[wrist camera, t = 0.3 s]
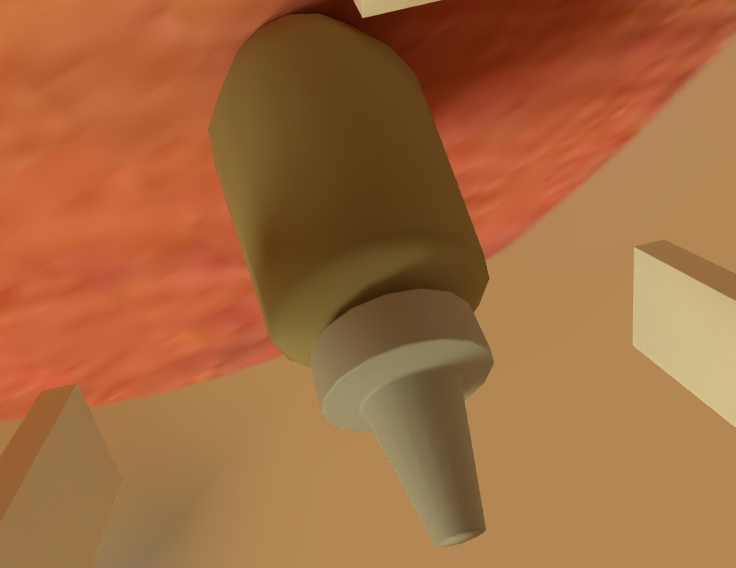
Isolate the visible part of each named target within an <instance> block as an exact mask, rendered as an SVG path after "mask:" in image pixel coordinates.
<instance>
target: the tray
mask: <svg viewBox="0 0 736 568" xmlns="http://www.w3.org/2000/svg"><path fill="white" fill-rule="evenodd" d="M353 1H354V3H355V5H356V6H357V8H358V10H359V12H360V14H361V16H362V18H365V17H370V16H374V15H378V14H383V13H387V12H391V11H396V10H400V9H405V8H409V7H413V6H418V5H422V4H426V3H431V2H435V1H440V0H353Z"/></svg>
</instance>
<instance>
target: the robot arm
mask: <svg viewBox="0 0 736 568" xmlns="http://www.w3.org/2000/svg"><path fill="white" fill-rule="evenodd" d="M633 298H634V299H633V346H634V347H636V348H637V349H638V350H639V351H641V352H642V353H643V354H644V355H646V356H647V357H648V358H649V359H651V360H652V361H653V362H654V363H656V364H657V365H658V366H659V367H661V368H662V369H663V370H664V371H666V372H667V373H668V374H669V375H671V376H672V377H673V378H675V379H676V380H677V381H678V382H679V383H681V384H682V385H683V386H684V387H686V388H687V389H688V390H690V391H691V392H692V393H693V394H694V395H696V396H697V397H698V398H699V399H701V400H702V401H703V402H704V403H706V404H707V405H708V406H709V407H711V408H712V409H713V410H714V411H716V412H717V413H718V414H719V415H721V416H722V417H723V418H725V419H726V420H727V421H728V422H729V423H731V424H732V425H733V426H734V427H736V274H735V273H733V272H731V271H729V270H726V269H725V268H722V267H720V266H718V265H716V264H714V263H712V262H710V261H708V260H706V259H704V258H701V257H699V256H697V255H695V254H693V253H691V252H689V251H687V250H685V249H683V248H680V247H678V246H676V245H674V244H672V243H670V242H668V241H666V240H661V241H657V242H652V243H648V244H645V245H640V246H636V247H634V297H633ZM121 480H122V477H121V475H120V473H119V471H118V469H117V466H116V464H115V462H114V461H113V458H112V456H111V454H110V452H109V450H108V447H107V445H106V443H105V441H104V439H103V437H102V435H101V433H100V431H99V429H98V427H97V424H96V422H95V420H94V418H93V416H92V414H91V412H90V410H89V407H88V405H87V403H86V401H85V399H84V397H83V395H82V393H81V391H80V388H79V386H78V384H77V383H76V384H72V385H67V386H63V387H59V388H55V389H51V390H47V391H43V392H41V393H40V395H39V396H38V398H37V399H36V401H35V403H34V404H33V406H32V407H31V409H30V410H29V412H28V413H27V415H26V417H25V418H24V420H23V421H22V423H21V424H20V426H19V427H18V429H17V431H16V432H15V434H14V435H13V437H12V438H11V440H10V442H9V443H8V445H7V446H6V448H5V449H4V451H3V453H2V454H1V456H0V568H93V566H94V563H95V560H96V557H97V554H98V551H99V548H100V545H101V542H102V538H103V535H104V532H105V529H106V526H107V523H108V520H109V517H110V514H111V510H112V508H113V505H114V502H115V498H116V495H117V492H118V489H119V486H120V483H121Z"/></svg>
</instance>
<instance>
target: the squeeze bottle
mask: <svg viewBox="0 0 736 568" xmlns="http://www.w3.org/2000/svg"><path fill="white" fill-rule="evenodd" d="M208 130H209V135H210V141H211V147H212V153H213V159H214V165H215V168H216V171H217V175H218V178H219V181H220V184H221V187H222V190H223V193H224V196H225V200H226V203H227V206H228V209H229V212H230V215H231V218H232V221H233V225H234V228H235V231H236V234H237V237H238V240H239V243H240V246H241V250H242V253H243V256H244V259H245V262H246V265H247V268H248V271H249V275H250V278H251V281H252V284H253V287H254V290H255V293H256V296H257V299H258V303H259V306H260V309H261V312H262V315H263V318H264V321H265V324H266V328H267V331H268V334H269V337H270V340H271V342H272V343H273V344H274V345H275V346H276V347H277V348H278V349H279V350H280V351H281V352H282V353H283V354H284V355H285V356H286V357H287V358H288V359H289V360H290V361H293V362H297V363H299V364H302V365H305V366H309V367H311V370H312V374H313V379H314V383H315V387H316V391H317V395H318V400H319V404H320V408H321V413H322V415H323V416H324V417H326V418H327V419H328V420H329V421H330V422H331V423H332V424H333V425H334V426H336V427H338V428H343V429H347V430H352V431H356V432H366V431H367V432H369V431H373V433H374V435H375V437H376V438H377V440H378V442H379V444H380V446H381V447H382V449H383V451H384V453H385V455H386V457H387V458H388V460H389V462H390V464H391V466H392V468H393V469H394V471H395V473H396V475H397V477H398V479H399V480H400V482H401V484H402V486H403V488H404V490H405V491H406V493H407V495H408V497H409V499H410V500H411V502H412V504H413V506H414V508H415V509H416V511H417V513H418V515H419V517H420V519H421V520H422V522H423V524H424V526H425V528H426V530H427V531H428V533H429V535H430V537H431V539H432V541H433V542H434V544H435V546H436V547H448V546H452V545H456V544H460V543H463V542H465V541H468V540H471V539H472V538H475V537H477V536H479V535H480V534H482V533H484V531H485V530H486V527H485V521H484V515H483V509H482V503H481V497H480V491H479V486H478V480H477V473H476V467H475V461H474V455H473V450H472V443H471V437H470V431H469V425H468V420H467V414H466V408H465V402H464V400H466V399H467V398H468V397H469V396H470V395H471V394H472V393H474V392H475V391H476V390H477V389H478V388H479V387H480V386H481V385H482V384H483V383H484V382H485V380H486V378H487V376H488V374H489V372H490V370H491V368H492V366H493V363H494V361H493V357H492V354H491V350H490V347H489V345H488V343H487V341H486V339H485V336H484V334H483V332H482V330H481V328H480V326H479V324H478V321H477V319H476V317H475V315H474V311H475V310H476V308H477V307H478V305H479V303H480V301H481V298H482V296H483V293H484V290H485V288H486V285H487V283H488V280H489V275H488V271H487V267H486V262H485V258H484V254H483V251H482V248H481V246H480V243H479V240H478V238H477V235H476V232H475V230H474V227H473V224H472V222H471V219H470V216H469V214H468V211H467V208H466V206H465V203H464V200H463V198H462V195H461V192H460V190H459V187H458V184H457V182H456V179H455V176H454V174H453V171H452V168H451V166H450V163H449V160H448V157H447V155H446V152H445V149H444V147H443V144H442V141H441V139H440V136H439V133H438V131H437V128H436V125H435V123H434V120H433V117H432V115H431V112H430V109H429V107H428V104H427V101H426V99H425V96H424V93H423V91H422V88H421V85H420V83H419V80H418V77H417V75H416V73H415V72H414V71H413V70H412V69H411V68H410V67H409V66H408V65H407V64H406V63H405V62H404V61H403V60H402V59H401V58H400V57H399V56H398V54H397V53H396V52H395V51H394V50H393V49H392V48H391V47H390V46H388V45H386V44H385V43H383V42H381V41H379V40H377V39H375V38H373V37H371V36H369V35H367V34H365V33H364V32H362V31H360V30H358V29H356V28H354V27H352V26H350V25H348V24H346V23H344V22H341V21H338V20H336V19H333V18H330V17H328V16H325V15H322V14H320V13H308V14H287V15H285V16H283V17H281V18H279V19H277V20H275V21H272V22H270V23H268V24H266V25H264V26H262V27H260V28H258V29H257V30H256V31H255V33H254V34H253V35H252V36H251V37H250V38H249V39H248V40H247V41H246V43H245V44H244V45H243V46H242V47H241V48H240V49H239V50H238V52H237V55H236V57H235V59H234V61H233V64H232V66H231V68H230V70H229V73H228V75H227V77H226V80H225V82H224V84H223V86H222V89H221V91H220V95H219V98H218V101H217V104H216V107H215V110H214V113H213V116H212V119H211V122H210V125H209V128H208Z"/></svg>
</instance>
